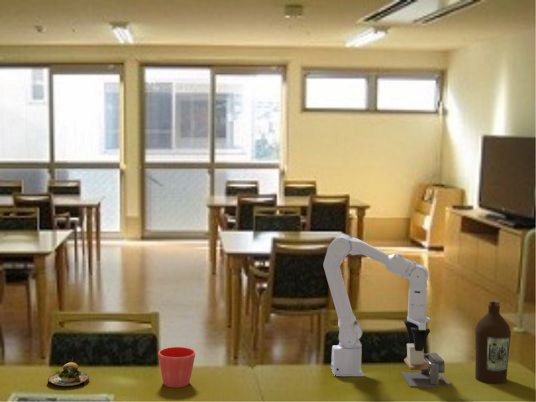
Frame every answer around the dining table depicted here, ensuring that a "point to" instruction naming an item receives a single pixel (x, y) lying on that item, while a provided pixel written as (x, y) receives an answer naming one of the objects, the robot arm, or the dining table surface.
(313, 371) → the dining table surface
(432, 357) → the trapdoor
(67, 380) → the burger
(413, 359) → the white rectangular block
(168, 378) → the flower pot
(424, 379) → the mat
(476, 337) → the olive oil
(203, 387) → the dining table surface
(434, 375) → the frame
